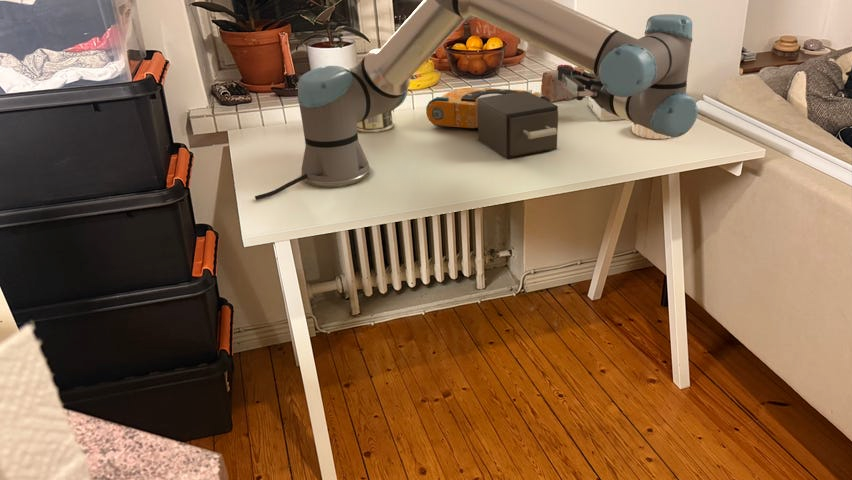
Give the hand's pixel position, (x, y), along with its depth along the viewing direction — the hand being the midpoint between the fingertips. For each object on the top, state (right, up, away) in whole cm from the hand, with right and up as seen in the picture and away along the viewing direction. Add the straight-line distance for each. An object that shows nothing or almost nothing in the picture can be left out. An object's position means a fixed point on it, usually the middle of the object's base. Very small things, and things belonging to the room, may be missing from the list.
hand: (561, 72), depth 149 cm
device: (-14, -1, +45) cm, 47 cm away
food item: (+8, +10, +64) cm, 65 cm away
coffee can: (-46, -3, +42) cm, 63 cm away
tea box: (+20, +2, +49) cm, 53 cm away
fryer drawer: (-6, -11, +23) cm, 27 cm away
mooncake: (+28, -6, +33) cm, 44 cm away
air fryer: (-8, -10, +27) cm, 30 cm away
